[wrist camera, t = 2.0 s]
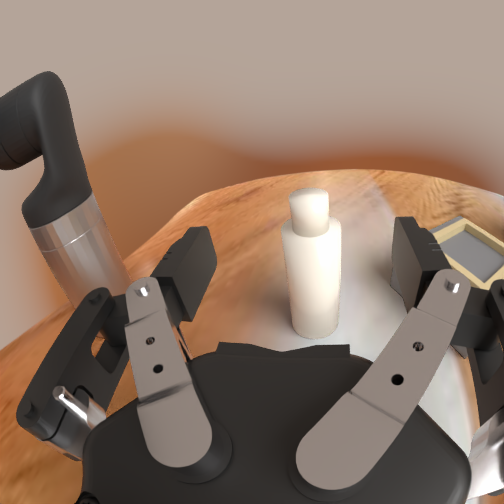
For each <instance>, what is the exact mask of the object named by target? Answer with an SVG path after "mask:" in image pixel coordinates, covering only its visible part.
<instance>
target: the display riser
mask: <svg viewBox="0 0 504 504" xmlns="http://www.w3.org/2000/svg"><path fill="white" fill-rule="evenodd" d="M429 232H431V233H432V234H433V235H434V237H435V238H436V240H437V242H438V244H439V245H440V247H441V250H442V251H443V252H444V254H445V256H446V258H447V260H448V262H449V263H450V265H451V267H452V269H453V270H456V271H459V272H461V273H462V274H464V275H465V276H466V277H467V278H468V280H469V281H470V284H471V287H475V288H480V289H486V290H489V289H490V286H491V284H492V282H493V281H495V280H497V279H504V243H503V242H501V241H500V240H498V239H497V238H495V237H494V236H492V235H491V234H489V233H488V232H486V231H485V230H483V229H481V228H480V227H478V226H477V225H475V224H473V223H472V222H470V221H468V220H467V219H465V218H463V217H461V216H458V217H456V218H454V219H452V220H450V221H448V222H446V223H444V224H442V225H440V226H437V227H435V228H433V229H431V230H429ZM390 286H391V287H392V288H393V289H394V290H395V291H397V292H398V293H399V294H400V295H401V296H402V292H401V289H400V285H399V282H398V279H397V275H396V272H395V269H394V266H393V270H392V276H391V282H390ZM402 297H403V296H402ZM452 346H453V347H454V348H455V349H456V350H457V351H458V352H459V353H460V354H461V355H462V357H463V358H464V359H465V358H466V357H467V356H468V353H467V349H466V347H462V346H456V345H452Z"/></svg>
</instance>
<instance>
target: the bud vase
mask: <svg viewBox="0 0 504 504" xmlns="http://www.w3.org/2000/svg"><path fill="white" fill-rule="evenodd" d="M289 204H290V212H291V219H289V220H287V221H286V222H285V223H284V224H283V225H282V227H281V235H282V242H283V250H284V258H285V265H286V273H287V282H288V290H289V298H290V307H291V316H292V324H293V328H294V330H295V331H296V333H297V334H299V335H300V336H302V337H304V338H307V339H322V338H325V337H327V336H329V335H331V334H332V333H333V332H334V331H335V330H336V328H337V326H338V321H339V304H340V280H341V224H340V223H339V221H338V220H337V219H335V218H333V217H331V216H329V203H328V193H327V192H326V191H325V190H322V189H319V188H303V189H299V190H296V191H294V192H292V193H291V194H290V195H289Z"/></svg>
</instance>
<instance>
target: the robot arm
mask: <svg viewBox="0 0 504 504" xmlns="http://www.w3.org/2000/svg"><path fill="white" fill-rule="evenodd" d="M41 155H43V159H44V167H45V169H44V173H43V176H42V178H41V180H40V182H39V183H38V185H37V186H36V188H35V189H34V190H33V191H32V193H31V194H30V195H29V196H28V197H27V198H26V199H25V201H24V202H23V204H22V214H23V216H24V219H25V221H26V223H27V225H28V227H29V229H30V231H31V233H32V235H33V237H34V239H35V241H36V243H37V245H38V247H39V249H40V251H41V253H42V255H43V256H44V258H45V260H46V262H47V264H48V265H49V267H50V269H51V271H52V273H53V274H54V276H55V278H56V279H57V281H58V282H59V284H60V286H61V288H62V289H63V291H64V292H65V294H66V296H67V297H68V299H69V300H70V302H71V303H72V305H73V306H74V308H75V309H76V310H75V311H74V313H73V314H72V316H71V317H70V319H69V320H68V322H67V323H66V325H65V326H64V328H63V329H62V331H61V332H60V334H59V336H58V337H57V339H56V340H55V342H54V343H53V345H52V347H51V348H50V350H49V351H48V353H47V355H46V356H45V358H44V360H43V361H42V363H41V365H40V367H39V368H38V370H37V372H36V374H35V375H34V377H33V379H32V381H31V383H30V384H29V386H28V388H27V390H26V392H25V394H24V396H23V398H22V399H21V401H20V403H19V405H18V408H17V412H16V418H17V422H18V424H19V425H20V426H21V427H22V428H24V429H25V430H27V431H28V432H29V433H31V434H32V435H34V436H35V437H36V438H37V439H38V440H39V441H41V442H42V443H44V444H45V445H47V446H49V447H50V448H52V449H53V450H55V451H57V452H58V453H62V454H63V455H65V456H67V457H69V458H70V459H72V460H74V461H81V460H82V464H83V480H82V489H81V493H80V496H79V498H78V500H77V501H76V503H75V504H465V502H466V501H467V500H470V499H473V498H477V497H480V496H483V495H486V494H488V495H491V496H497V495H500V494H502V493H504V279H497V280H495V281H493V282H492V284H491V286H490V289H489V290H486V289H480V288H475V287H471V284H470V281H469V280H468V278H467V277H466V276H465V275H464V274H462V273H461V272H459V271H456V270H453V269H452V267H451V265H450V263H449V262H448V260H447V258H446V256H445V254H444V252H443V251H442V250H441V247H440V245H439V244H438V242H437V240H436V238H435V237H434V235H433V234H432V233H431V232H429V231H428V230H427V229H425V228H420V227H419V226H418V224H417V222H416V220H415V219H414V217H396V218H395V223H394V234H393V244H392V262H393V266H394V269H395V272H396V275H397V279H398V282H399V285H400V289H401V292H402V296H403V300H404V303H405V307H406V311H407V316H406V317H405V319H404V321H403V322H402V324H401V325H400V327H399V328H398V330H397V331H396V332H395V334H394V335H393V337H392V338H391V340H390V341H389V343H388V344H387V345H386V347H385V348H384V349H383V351H382V352H381V354H380V355H379V356H378V358H377V359H376V360H375V362H374V363H373V362H371V361H370V360H368V359H365V358H363V357H360V356H356V355H352V354H350V345H349V344H346V345H315V346H310V347H305V348H300V349H295V350H290V351H285V352H279V351H275V350H271V349H267V348H263V347H259V346H256V345H252V344H243V343H226V342H219V344H218V347H217V350H216V351H215V352H210V353H206V354H203V355H200V356H198V357H196V358H194V359H193V357H192V354H191V352H190V350H189V347H188V345H187V343H186V340H185V338H184V335H183V333H182V330H181V328H180V326H179V325H180V322H181V321H188V322H192V321H193V318H194V316H195V314H196V312H197V309H198V307H199V305H200V303H201V300H202V298H203V296H204V294H205V292H206V289H207V287H208V285H209V283H210V281H211V278H212V276H213V274H214V272H215V270H216V266H217V257H216V253H215V249H214V246H213V243H212V239H211V236H210V232H209V229H208V228H207V227H206V226H200V227H190V228H189V229H188V230H187V231H186V233H185V234H184V236H183V237H182V239H179V240H178V241H176V242H175V243H174V244H173V245H171V247H170V248H169V250H168V251H167V252H166V253H167V254H165V255H164V257H163V258H162V260H161V261H160V262H159V264H158V265H157V267H156V268H155V270H154V271H153V272H152V274H151V275H150V277H144V278H141V279H139V280H137V281H135V282H133V281H132V279H131V277H130V275H129V273H128V271H127V269H126V267H125V265H124V263H123V261H122V259H121V257H120V255H119V253H118V250H117V248H116V246H115V244H114V242H113V240H112V237H111V235H110V233H109V230H108V228H107V226H106V223H105V221H104V219H103V216H102V214H101V212H100V209H99V207H98V204H97V202H96V199H95V197H94V194H93V192H92V188H91V186H90V183H89V180H88V176H87V172H86V168H85V164H84V161H83V158H82V155H81V151H80V148H79V145H78V140H77V137H76V133H75V128H74V123H73V118H72V113H71V109H70V104H69V100H68V96H67V93H66V90H65V87H64V85H63V83H62V81H61V80H60V78H59V77H58V76H57V75H56V74H55V73H53V72H50V71H47V72H43V73H40V74H38V75H36V76H34V77H33V78H31V79H29V80H27V81H25V82H24V83H22V84H21V85H19V86H17V87H16V88H14V89H13V90H11V91H9V92H8V93H7V94H5V95H4V96H2V97H0V169H1V170H13V169H16V168H19V167H21V166H23V165H25V164H26V163H28V162H30V161H32V160H34V159H36V158H37V157H39V156H41ZM96 336H97V337H101V338H104V339H105V341H104V342H103V344H102V346H101V348H100V350H99V352H98V353H97V355H96V357H94V356H93V355H92V352H91V345H92V343H93V341H94V339H95V337H96ZM500 342H501V344H500ZM449 344H451V345H456V346H462V347H466V349H467V353H468V358H469V362H470V366H471V371H472V376H473V381H474V386H475V392H476V398H477V405H478V412H479V420H480V428H479V429H478V430H477V431H476V432H475V434H474V436H473V439H472V442H471V450H470V455H469V457H468V458H467V456H466V454H465V453H464V451H463V450H462V449H461V448H460V447H459V446H458V445H457V444H456V443H455V442H454V441H453V440H452V439H451V438H450V437H449V436H448V435H447V434H446V433H445V432H444V431H443V430H442V429H441V428H440V427H439V426H438V425H437V423H436V422H435V421H434V420H433V419H432V418H431V417H430V416H429V415H428V414H427V413H426V412H425V411H424V410H423V409H422V408H421V407H420V406H419V405H418V402H419V401H420V399H421V397H422V396H423V394H424V392H425V391H426V389H427V387H428V385H429V383H430V382H431V380H432V378H433V376H434V374H435V372H436V370H437V369H438V367H439V365H440V363H441V361H442V359H443V357H444V354H445V352H446V350H447V348H448V346H449ZM501 345H502V347H501ZM502 348H503V351H502ZM129 358H130V361H131V366H132V371H133V376H134V380H135V385H136V389H137V394H138V397H137V398H136V399H134V400H133V401H131V402H130V403H128V404H127V405H126V406H124V407H123V408H121V409H120V410H118V411H117V412H115V413H114V414H112V415H111V416H109V417H108V418H106V411H107V408H108V406H109V403H110V401H111V399H112V396H113V394H114V392H115V389H116V387H117V385H118V383H119V380H120V378H121V376H122V374H123V371H124V369H125V367H126V365H127V363H128V361H129Z"/></svg>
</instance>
